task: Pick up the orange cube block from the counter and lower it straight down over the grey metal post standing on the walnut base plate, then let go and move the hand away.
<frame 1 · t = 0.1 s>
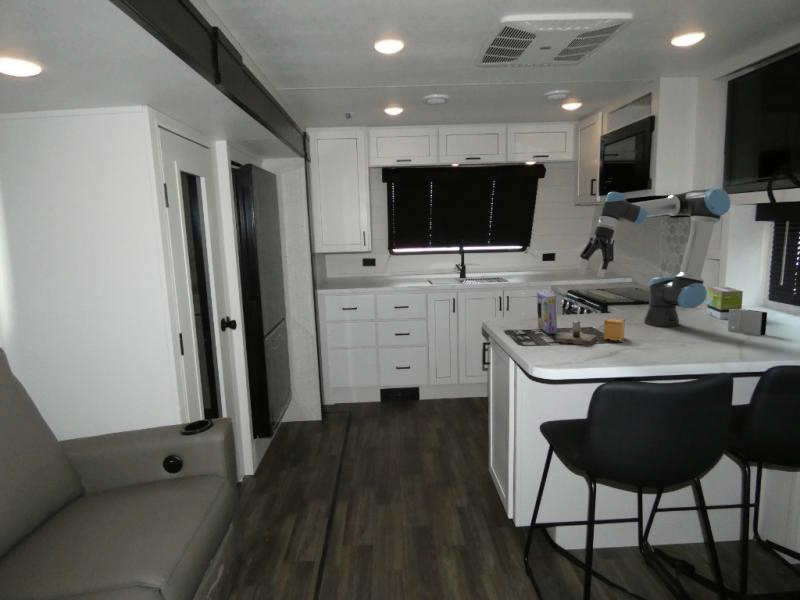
hand: (590, 275, 215), 28 cm above the table, tool tilted 20°, fingers open, 13 cm apart
gray black rectangular block: (745, 333, 219), on the table
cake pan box: (546, 330, 235), on the table
base plate: (576, 340, 212), on the table
tea box: (723, 317, 254), on the table
post: (576, 329, 212), on the base plate, point 5 cm above the table
orange cube block: (613, 338, 215), on the table
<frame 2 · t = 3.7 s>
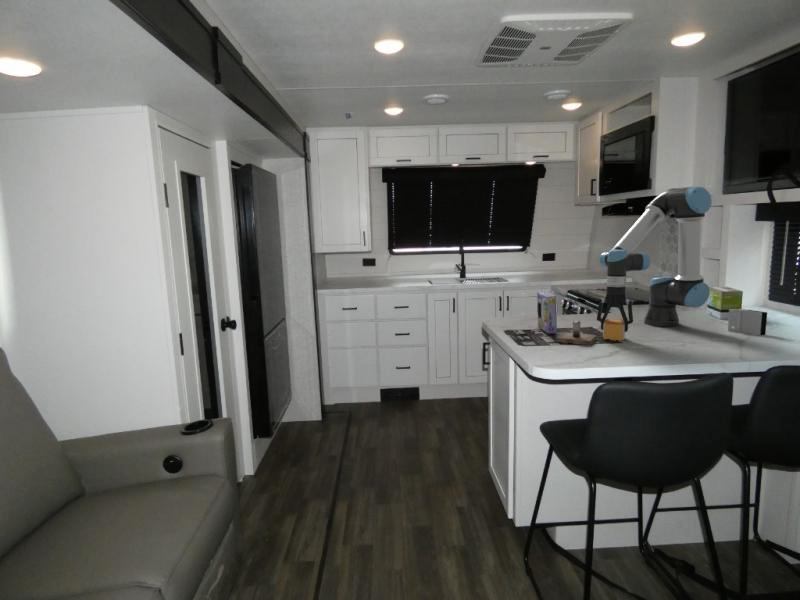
hand: (613, 337, 215), 0 cm above the table, tool pointing down, fingers closed on orange cube block, 7 cm apart
orange cube block: (613, 338, 215), on the table, touching gripper
everything else where it was.
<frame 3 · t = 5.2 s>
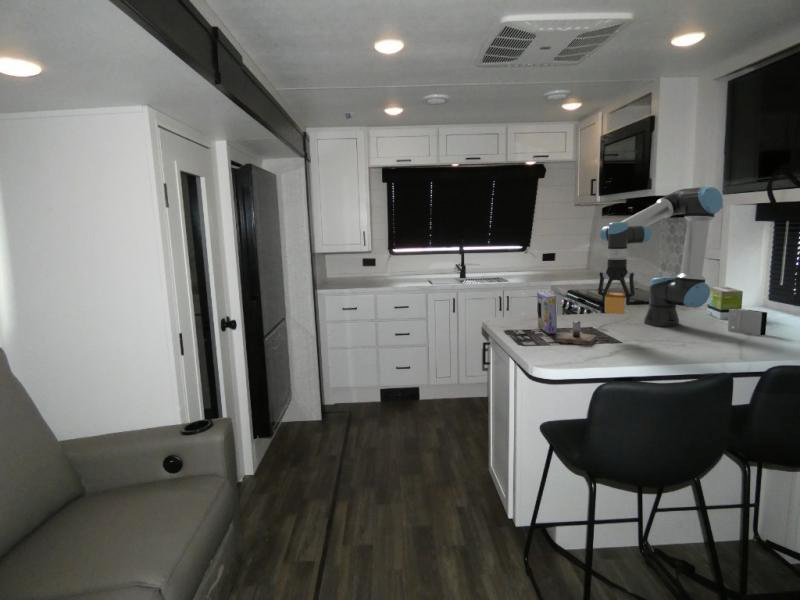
hand: (615, 311, 213), 12 cm above the table, tool pointing down, fingers closed on orange cube block, 7 cm apart
orange cube block: (615, 312, 213), point 12 cm above the table, touching gripper
everything else where it was.
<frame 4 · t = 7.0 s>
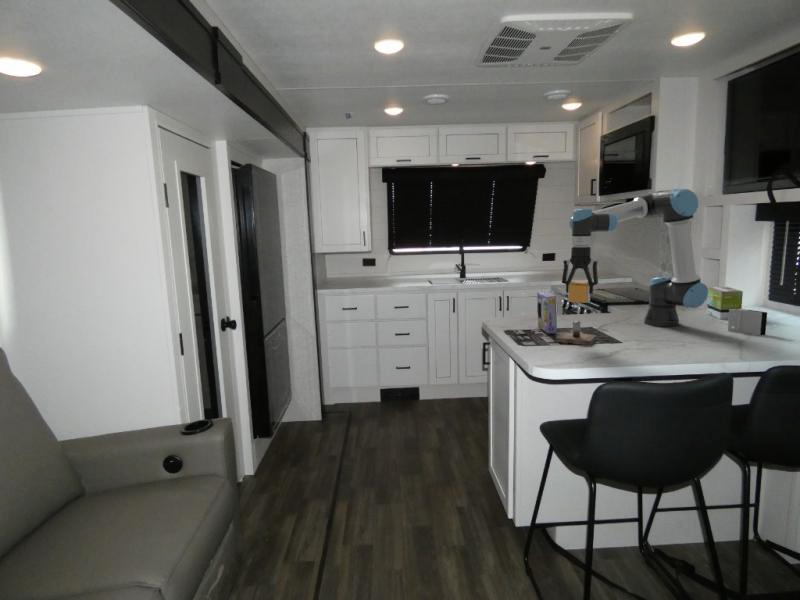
hand: (579, 300, 210), 18 cm above the table, tool pointing down, fingers closed on orange cube block, 7 cm apart
orange cube block: (579, 301, 210), point 17 cm above the table, touching gripper
everything else where it was.
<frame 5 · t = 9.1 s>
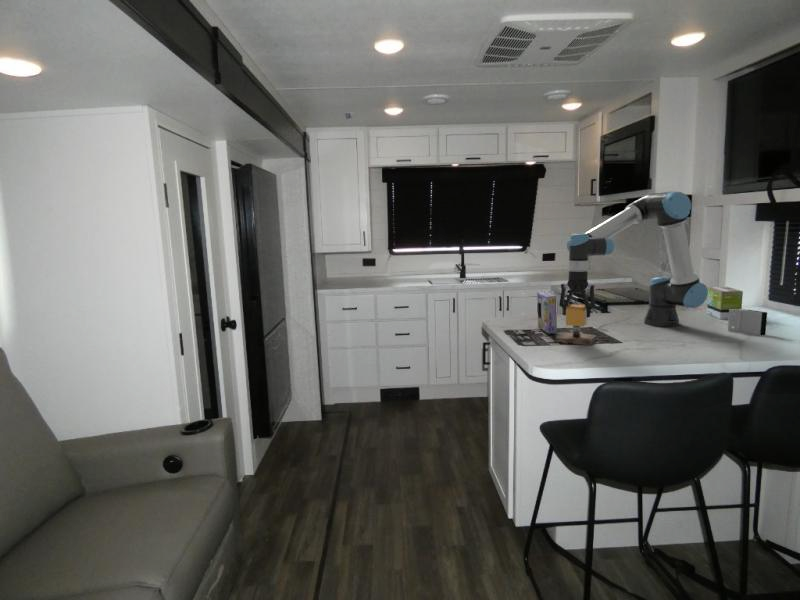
hand: (576, 323, 211), 8 cm above the table, tool pointing down, fingers closed on orange cube block, 7 cm apart
orange cube block: (576, 324, 211), point 7 cm above the table, touching gripper
everything else where it was.
when the fingers open (4 cm above the table, at t = 10.7 s): orange cube block drops 1 cm, resting on base plate.
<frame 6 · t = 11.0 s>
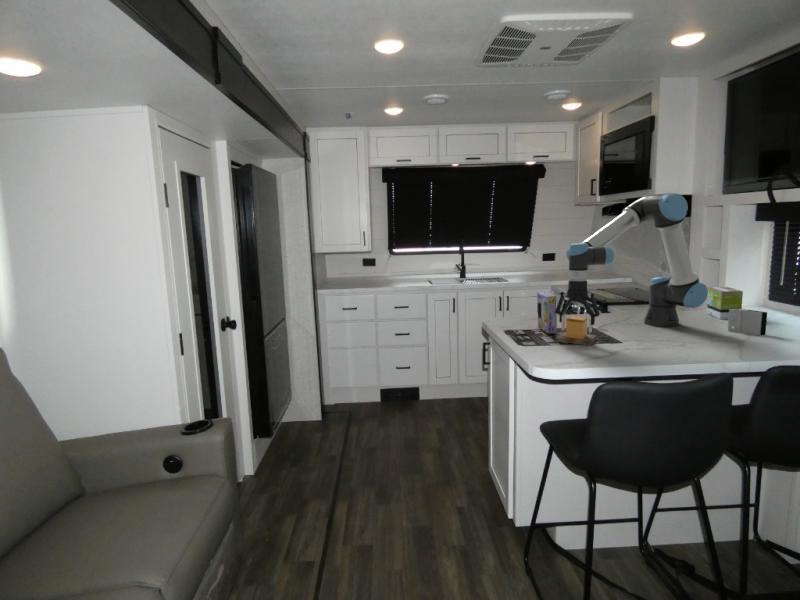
hand: (576, 331, 212), 4 cm above the table, tool pointing down, fingers open, 10 cm apart
orange cube block: (576, 336, 212), point 2 cm above the table, touching base plate
everything else where it was.
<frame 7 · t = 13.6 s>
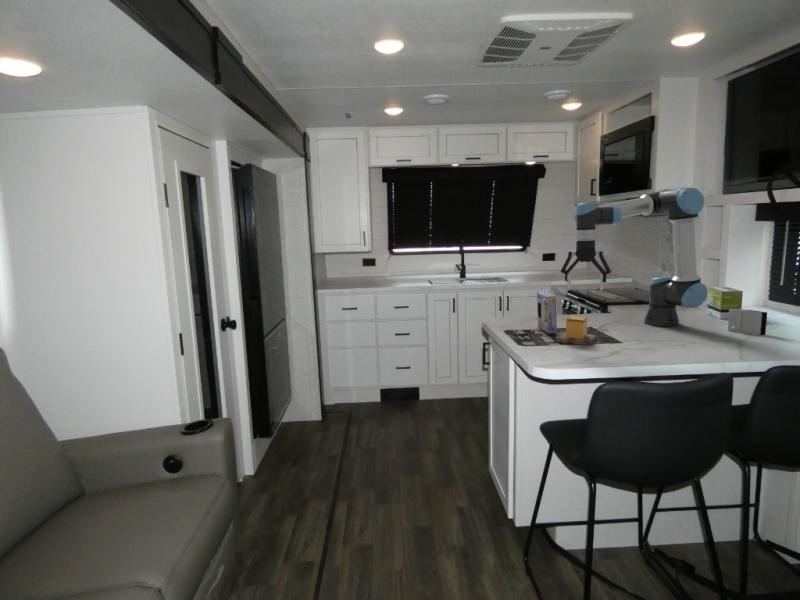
hand: (585, 289, 212), 22 cm above the table, tool pointing down, fingers open, 13 cm apart
nothing on the table moved.
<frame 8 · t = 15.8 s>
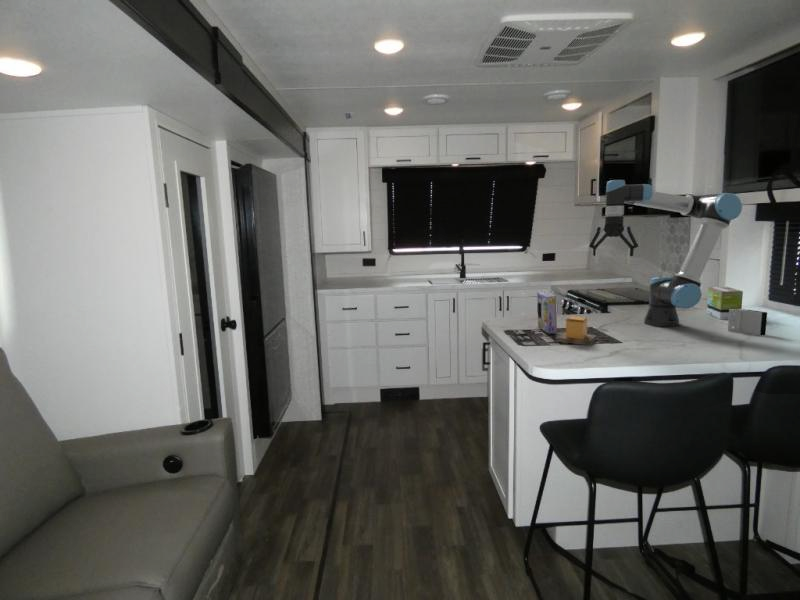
hand: (612, 263, 222), 32 cm above the table, tool pointing down, fingers open, 13 cm apart
nothing on the table moved.
at the end: orange cube block 0.1 cm from the post (horizontally); orange cube block point 2.0 cm above the table; orange cube block tilted 0° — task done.
